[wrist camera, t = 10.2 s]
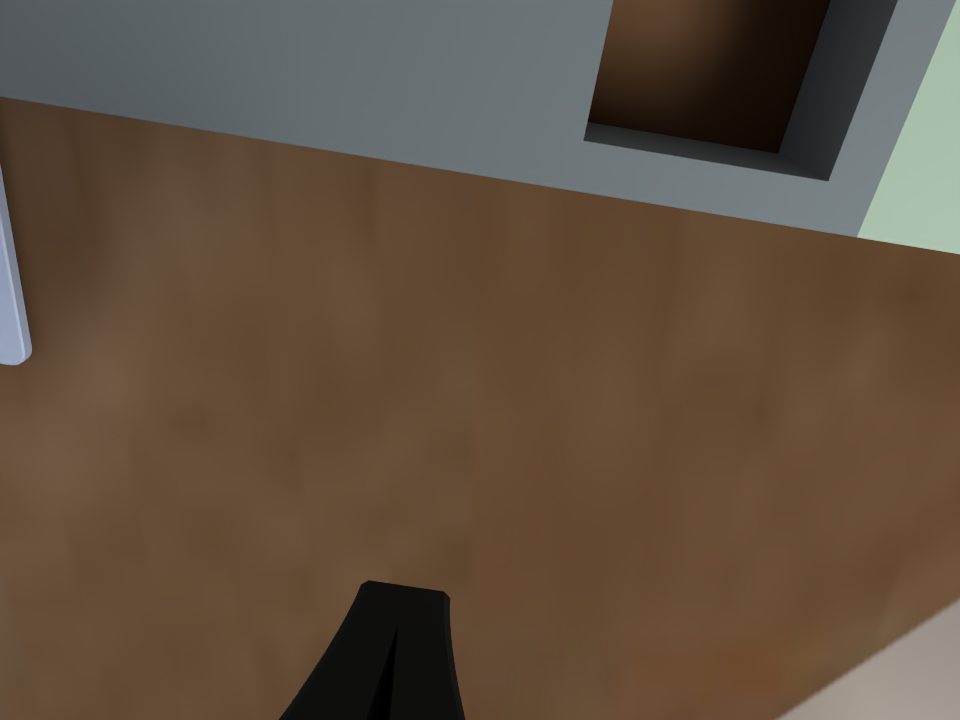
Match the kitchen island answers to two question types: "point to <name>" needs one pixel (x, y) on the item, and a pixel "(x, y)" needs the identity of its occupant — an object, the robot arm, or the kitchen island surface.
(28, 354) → the robot arm
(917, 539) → the kitchen island surface
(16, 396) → the kitchen island surface
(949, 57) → the trap board
